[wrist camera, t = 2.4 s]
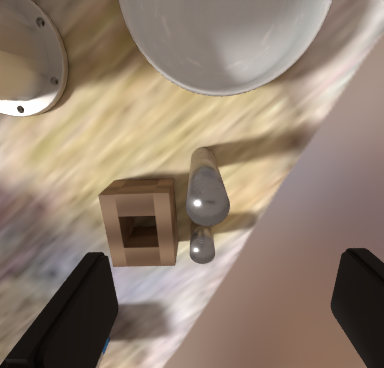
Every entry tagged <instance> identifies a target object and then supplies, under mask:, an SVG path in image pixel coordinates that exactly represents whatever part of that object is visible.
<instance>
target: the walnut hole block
mask: <svg viewBox="0 0 384 368" xmlns="http://www.w3.org/2000/svg"><path fill="white" fill-rule="evenodd" d="M98 196H99V200H100V205H101V210H102V215H103V220H104V224H105V229H106V234H107V239H108V244H109V248H110V253H111V258H112V263H113V267H125V266H174V265H175V263H176V256H177V249H178V230H177V217H176V204H175V192H174V179H147V180H119V181H113V182H112V183H111V184H110V185H109V186H108V187H107V188H106V189H105V190H103V191H102V192H101V193H100V194H99V195H98ZM133 216H155V217H156V225H157V226H150V227H135V225H134V219H133Z"/></svg>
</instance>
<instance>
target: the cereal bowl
mask: <svg viewBox="0 0 384 368" xmlns="http://www.w3.org/2000/svg"><path fill="white" fill-rule="evenodd" d="M118 1H119V5H120V8H121V12H122V15H123V18H124V21H125V23H126V26H127V28H128V30H129V32H130V34H131V36H132V39H133V41H134V42H135V43H136V45H137V47H138V48H139V50H140V52H141V53H142V54H143V55H144V56H145V58H146V59H147V60H148V62H149V63H150V64H151V65H152V66H153V67H154V68H155V69H156V70H157V71H158V72H159V73H161V74H162V75H163V76H164V77H165V78H166V79H168V80H170V81H171V82H172V83H174V84H176V85H177V86H180V87H181V88H183V89H186V90H187V91H191V92H193V93H197V94H202V95H208V96H221V97H222V96H233V95H237V94H241V93H246V92H249V91H251V90H254V89H256V88H259V87H261V86H263V85H265V84H267V83H269V82H270V81H272V80H274V79H275V78H277V77H278V76H280V75H281V74H283V73H284V72H285V71H287V70H288V69H289V68H290V67H291V66H292V65H293V64H294V63H295V62H296V61H297V60H298V59H299V58H300V57H301V56H302V55H303V54H304V53H305V52H306V50H307V49H308V48H309V46H310V45H311V43H312V42H313V40H314V39H315V37H316V36H317V34H318V32H319V30H320V29H321V27H322V25H323V23H324V21H325V19H326V16H327V14H328V11H329V9H330V6H331V3H332V0H118Z"/></svg>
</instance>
